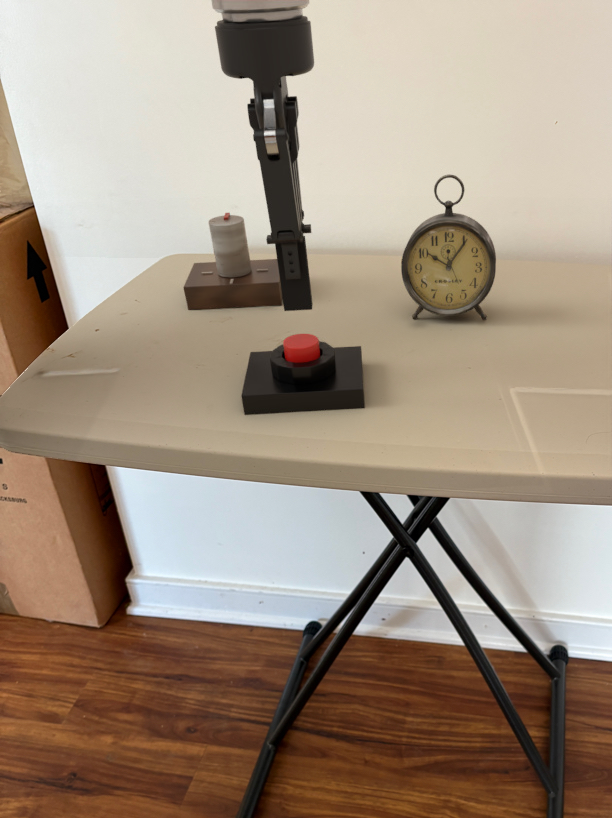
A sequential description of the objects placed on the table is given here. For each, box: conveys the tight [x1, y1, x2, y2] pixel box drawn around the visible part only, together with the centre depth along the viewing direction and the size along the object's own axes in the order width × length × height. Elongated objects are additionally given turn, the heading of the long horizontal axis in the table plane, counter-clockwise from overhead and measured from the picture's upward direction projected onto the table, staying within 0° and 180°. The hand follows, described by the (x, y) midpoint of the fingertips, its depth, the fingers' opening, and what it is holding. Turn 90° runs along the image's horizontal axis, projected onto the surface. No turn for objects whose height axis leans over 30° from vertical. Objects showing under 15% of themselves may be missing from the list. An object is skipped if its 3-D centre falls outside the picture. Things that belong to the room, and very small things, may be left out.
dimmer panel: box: [183, 258, 283, 311], centre depth 100 cm, size 12×9×3 cm
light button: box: [282, 333, 320, 363], centre depth 77 cm, size 4×4×2 cm
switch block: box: [240, 340, 366, 416], centre depth 78 cm, size 12×10×4 cm
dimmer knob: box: [208, 212, 252, 278], centre depth 97 cm, size 4×4×7 cm
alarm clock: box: [400, 174, 497, 321], centre depth 88 cm, size 11×5×16 cm, turn 83°
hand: (298, 307), depth 74 cm, fingers closed
